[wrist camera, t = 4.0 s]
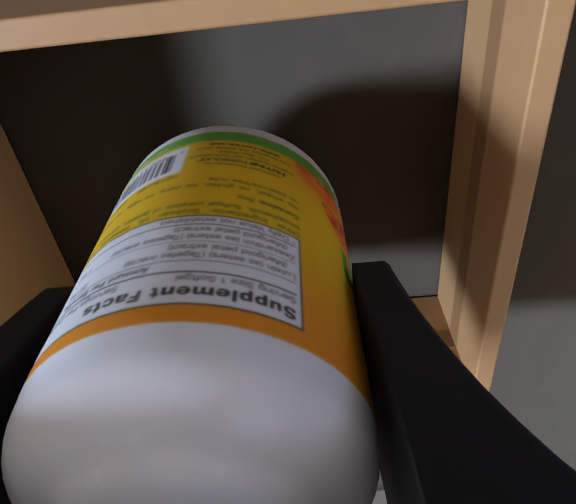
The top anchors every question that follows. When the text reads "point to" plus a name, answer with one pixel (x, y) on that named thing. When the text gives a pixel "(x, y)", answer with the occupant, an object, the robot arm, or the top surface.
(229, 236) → the supplement bottle
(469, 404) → the robot arm
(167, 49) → the top surface
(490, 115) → the wooden box
